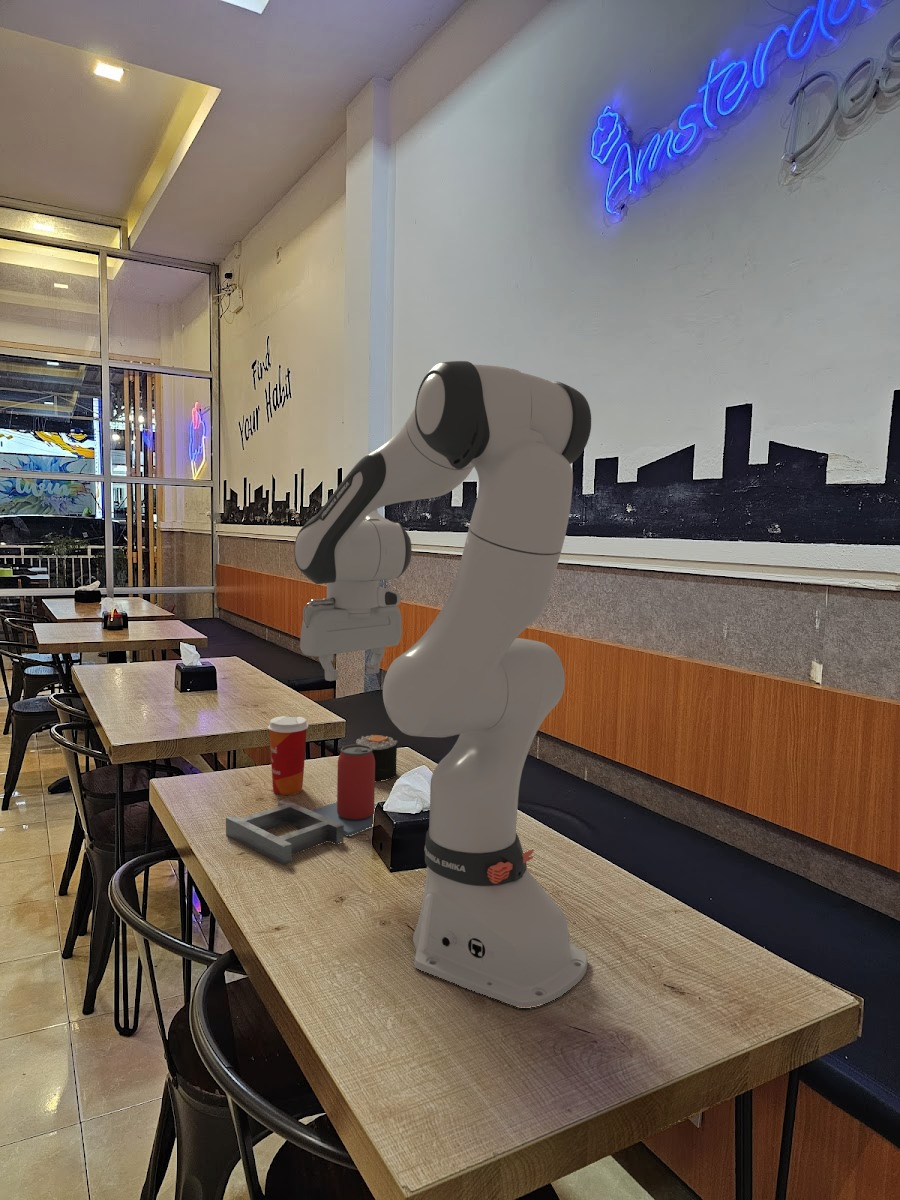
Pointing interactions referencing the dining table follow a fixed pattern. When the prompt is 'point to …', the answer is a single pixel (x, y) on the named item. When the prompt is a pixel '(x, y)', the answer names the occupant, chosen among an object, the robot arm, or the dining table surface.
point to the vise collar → (283, 847)
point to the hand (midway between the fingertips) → (352, 676)
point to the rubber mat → (349, 825)
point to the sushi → (382, 755)
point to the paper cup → (287, 753)
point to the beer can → (356, 782)
